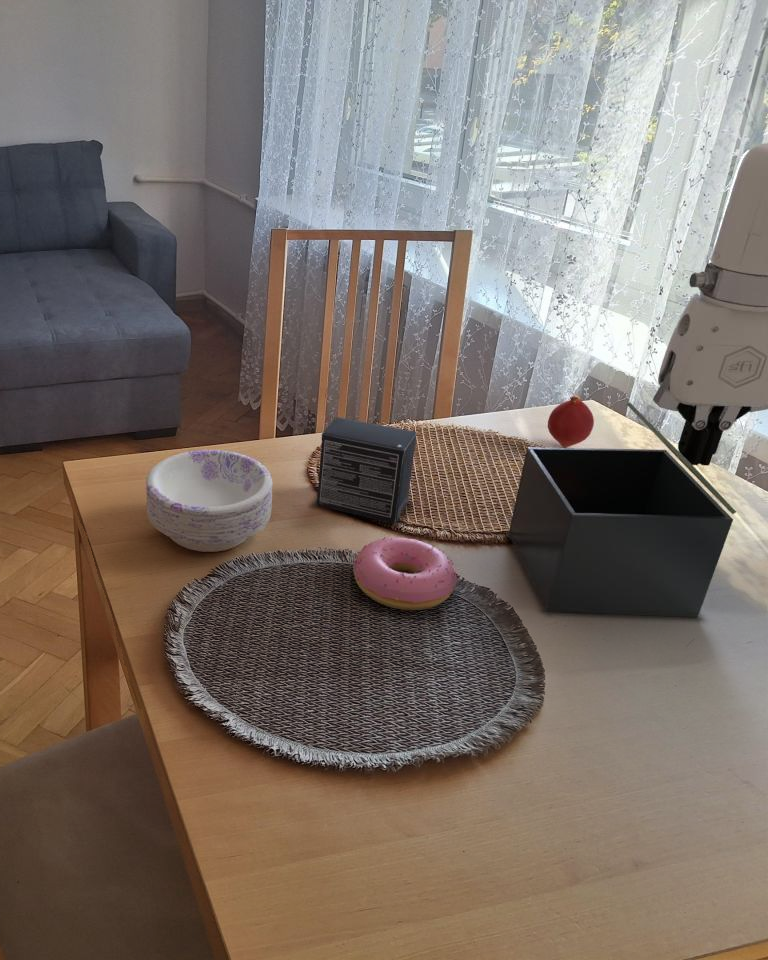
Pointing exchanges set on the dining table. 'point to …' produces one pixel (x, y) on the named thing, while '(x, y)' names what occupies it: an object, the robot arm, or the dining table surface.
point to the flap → (682, 459)
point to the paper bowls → (209, 498)
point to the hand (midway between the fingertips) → (693, 459)
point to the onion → (571, 422)
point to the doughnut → (399, 590)
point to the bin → (616, 531)
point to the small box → (365, 469)
